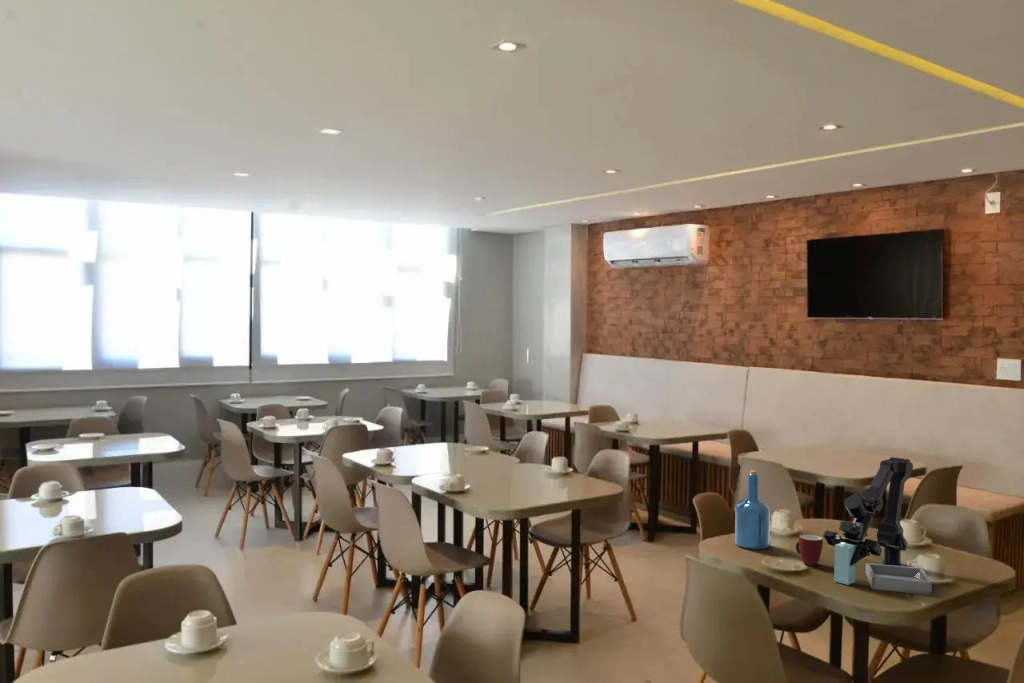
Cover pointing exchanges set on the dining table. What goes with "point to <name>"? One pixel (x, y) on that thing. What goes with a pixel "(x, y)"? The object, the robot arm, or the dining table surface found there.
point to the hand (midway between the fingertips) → (843, 563)
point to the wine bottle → (752, 518)
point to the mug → (810, 548)
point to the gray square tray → (898, 579)
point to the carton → (844, 563)
